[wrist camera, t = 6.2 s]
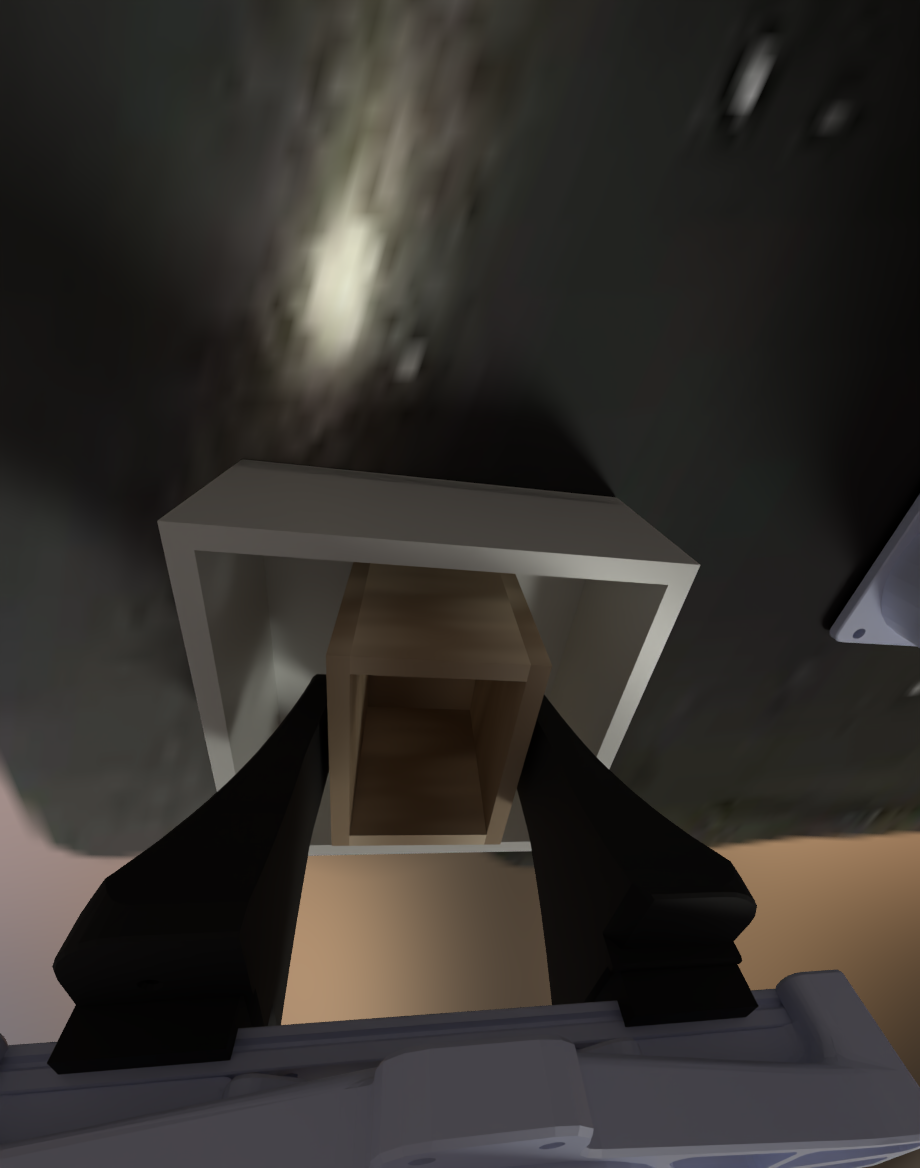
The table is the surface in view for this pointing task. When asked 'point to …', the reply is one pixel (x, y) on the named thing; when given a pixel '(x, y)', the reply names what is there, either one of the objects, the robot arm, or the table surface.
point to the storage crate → (410, 538)
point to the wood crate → (430, 704)
